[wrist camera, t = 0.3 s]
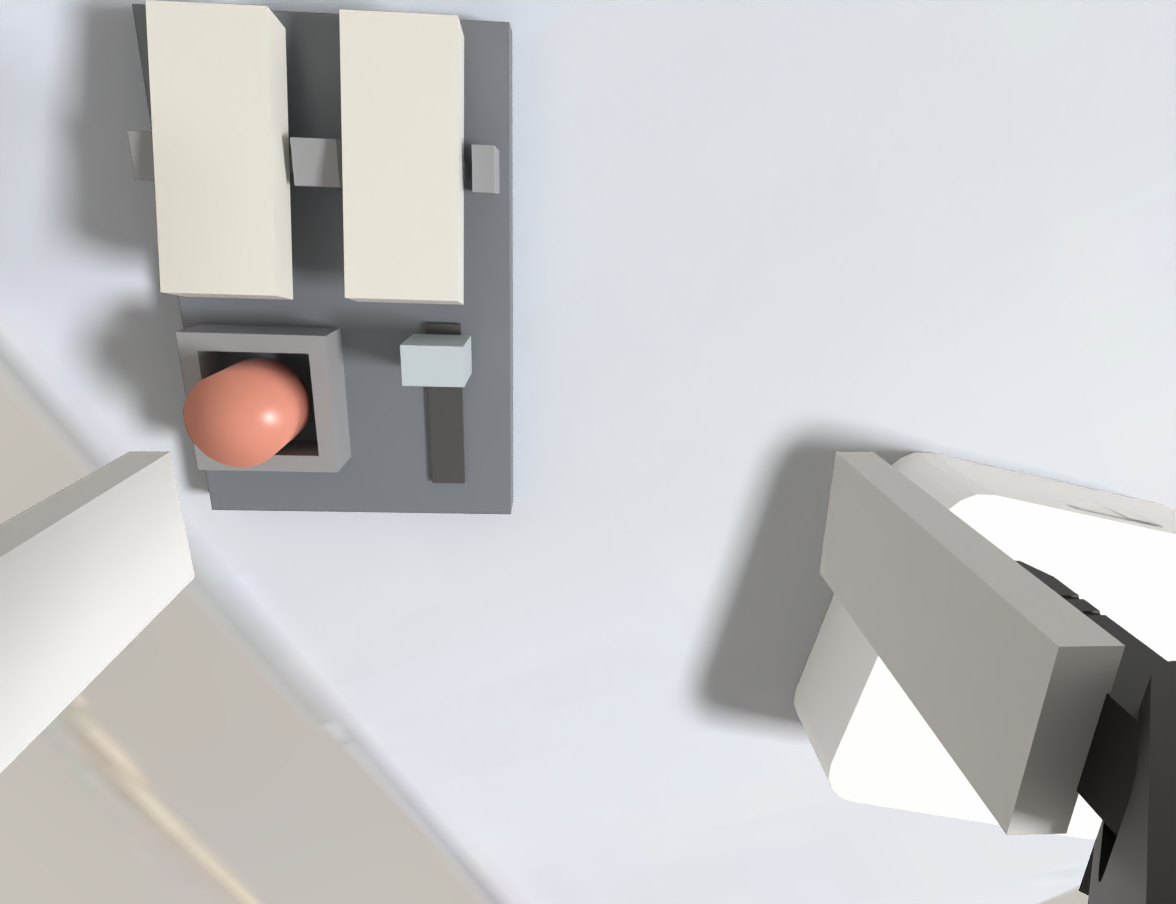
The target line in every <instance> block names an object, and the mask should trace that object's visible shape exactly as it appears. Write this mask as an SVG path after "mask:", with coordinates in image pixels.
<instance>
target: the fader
mask: <svg viewBox="0 0 1176 904" xmlns="http://www.w3.org/2000/svg"><path fill="white" fill-rule="evenodd" d="M400 355H401V373H402V386H430V387H465V385H466V383H467V381H468V379H469V377H470V375H471V373H472V353H471V335H444V334H412V335H411V336H410V337H409V338H408V339H406V340H405V341H404V342H403V343H402V344H401V345H400Z"/></svg>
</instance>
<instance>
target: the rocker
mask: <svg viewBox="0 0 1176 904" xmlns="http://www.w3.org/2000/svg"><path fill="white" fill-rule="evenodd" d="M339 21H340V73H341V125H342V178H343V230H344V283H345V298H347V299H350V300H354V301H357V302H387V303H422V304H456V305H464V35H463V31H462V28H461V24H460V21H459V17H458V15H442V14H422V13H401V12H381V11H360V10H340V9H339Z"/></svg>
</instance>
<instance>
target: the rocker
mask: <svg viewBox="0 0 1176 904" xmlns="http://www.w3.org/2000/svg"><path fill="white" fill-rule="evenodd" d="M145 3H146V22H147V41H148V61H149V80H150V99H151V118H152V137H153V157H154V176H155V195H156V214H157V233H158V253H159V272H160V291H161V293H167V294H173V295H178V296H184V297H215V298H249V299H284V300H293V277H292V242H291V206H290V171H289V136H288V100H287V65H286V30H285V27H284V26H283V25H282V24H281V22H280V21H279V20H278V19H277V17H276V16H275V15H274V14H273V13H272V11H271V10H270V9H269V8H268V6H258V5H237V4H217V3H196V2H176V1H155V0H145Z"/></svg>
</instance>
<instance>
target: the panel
mask: <svg viewBox="0 0 1176 904" xmlns="http://www.w3.org/2000/svg"><path fill="white" fill-rule="evenodd" d="M132 6H133V13H134V19H135V25H136V32H137V38H138V44H139V51H140V57H141V63H142V69H143V76H144V82H145V88H146V95H147V101H148V107H149V114H150V120H151V126H152V118H151V99H150V80H149V61H148V41H147V22H146V5H142V4H132ZM272 13H273V14H274V15H275V16H276V17H277V19H278V20H279V21H280V22H281V24H282V25H283V26H284V27H285V30H286V65H287V100H288V136H289V171H290V206H291V242H292V277H293V300H284V299H249V298H215V297H184V296H178V297H179V303H180V310H181V316H182V322H183V330H180V331H177V332H175V333H176V339H177V345H178V351H179V357H180V363H181V370H182V376H183V382H184V388H185V394H186V398H187V396H188V394H189V392H190V391H191V390H192V388H193V387H194V386H195V385H196V384H197V383H198V382H200V381H201V380H203V379H205V378H207V377H209V376H211V375H213V374H215V373H217V372H219V371H221V370H224V369H226V368H228V367H230V366H232V365H234V364H236V363H238V362H240V361H242V360H245V359H249V358H257V357H261V358H269V359H273V360H276V361H279V362H281V363H283V364H285V365H286V366H288V367H289V368H291V369H292V370H293V371H294V372H295V373H296V374H297V375H298V376H299V377H300V378H301V380H302V381H303V383H304V384H305V386H306V388H307V390H308V393H309V396H310V402H311V410H310V416H309V419H308V422H307V424H306V425H305V427H304V429H303V430H302V431H301V432H300V433H299V434H298V435H297V436H295V437H294V438H293V439H292V440H291V441H290V442H288V443H287V444H286V445H285V446H284V447H283V448H282V449H280V450H279V451H278V452H277V453H276V454H275V455H273V456H272V457H271V458H270V459H269V460H267V461H265V462H264V463H261V464H259V465H256V466H252V467H242V468H241V467H232V466H227V465H224V464H221V463H219V462H217V461H215V460H213V459H211V458H209V457H208V456H207V455H205V454H204V453H203V452H202V451H201V450H200V449H199V448H198V447H197V446H196V445H195V444H194V450H195V456H196V462H197V468H198V470H206V474H207V480H208V487H209V493H210V499H211V506H212V510H261V511H329V512H397V513H464V514H511V510H512V503H513V282H512V31H511V27H510V23H509V22H493V21H473V20H459V21H460V24H461V28H462V31H463V35H464V305H456V304H422V303H387V302H357V301H354V300H350V299H347V298H345V283H344V230H343V178H342V125H341V73H340V21H339V14H328V13H308V12H287V11H272ZM127 133H128V139H129V145H130V151H131V156H132V162H133V168H134V174H135V180H149V181H155V176H154V157H153V137H152V132H148V131H127ZM412 334H444V335H471V353H472V373H471V375H470V377H469V379H468V381H467V383H466V385H465V387H430V386H402V373H401V355H400V345H401V344H402V343H403V342H404V341H405V340H406V339H408V338H409V337H410V336H411V335H412ZM193 443H194V442H193Z"/></svg>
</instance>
